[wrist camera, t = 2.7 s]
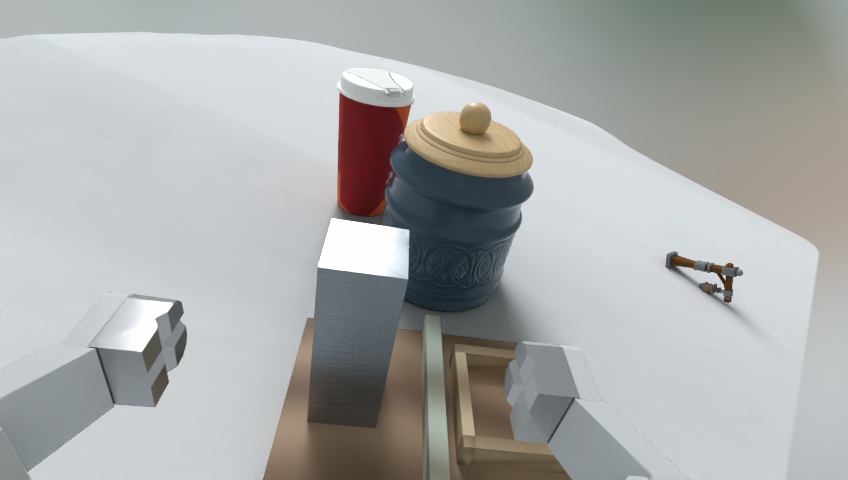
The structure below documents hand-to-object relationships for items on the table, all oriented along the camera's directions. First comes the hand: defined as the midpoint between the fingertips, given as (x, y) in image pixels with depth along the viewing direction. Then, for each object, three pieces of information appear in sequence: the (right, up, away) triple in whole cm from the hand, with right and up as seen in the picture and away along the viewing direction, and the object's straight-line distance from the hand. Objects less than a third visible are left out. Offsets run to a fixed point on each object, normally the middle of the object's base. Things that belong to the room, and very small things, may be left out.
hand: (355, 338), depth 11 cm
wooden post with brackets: (+34, -3, +44) cm, 55 cm away
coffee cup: (-6, +7, +44) cm, 45 cm away
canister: (+3, -1, +36) cm, 36 cm away
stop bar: (-4, -9, +21) cm, 23 cm away
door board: (+2, -10, +22) cm, 24 cm away
